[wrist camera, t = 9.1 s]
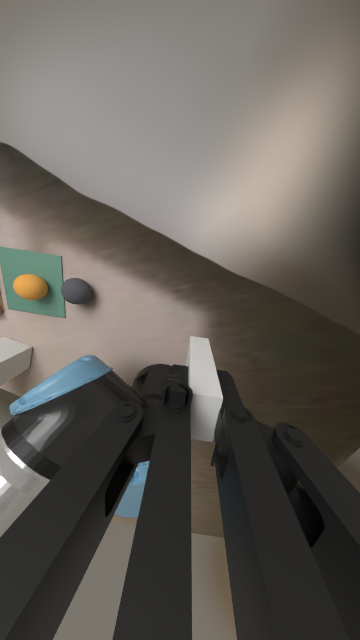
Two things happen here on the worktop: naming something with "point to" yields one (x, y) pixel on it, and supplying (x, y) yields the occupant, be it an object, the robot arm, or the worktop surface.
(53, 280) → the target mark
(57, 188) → the worktop surface
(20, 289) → the object ball
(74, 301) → the dark gray ball
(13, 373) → the milk carton
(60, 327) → the worktop surface
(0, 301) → the rail
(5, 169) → the worktop surface
